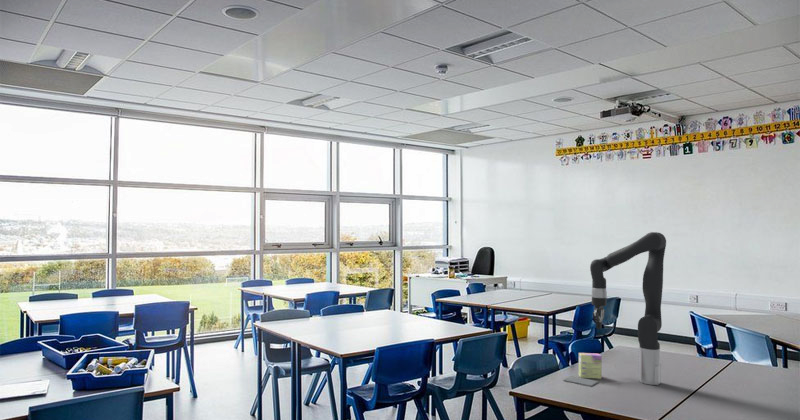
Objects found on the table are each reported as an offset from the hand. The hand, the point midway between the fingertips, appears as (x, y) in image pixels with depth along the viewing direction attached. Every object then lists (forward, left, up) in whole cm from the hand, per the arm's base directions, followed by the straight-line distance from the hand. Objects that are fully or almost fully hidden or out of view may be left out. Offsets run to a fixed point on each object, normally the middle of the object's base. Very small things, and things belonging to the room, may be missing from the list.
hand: (598, 328), depth 287 cm
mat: (0, +25, -23) cm, 34 cm away
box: (0, +13, -23) cm, 27 cm away
